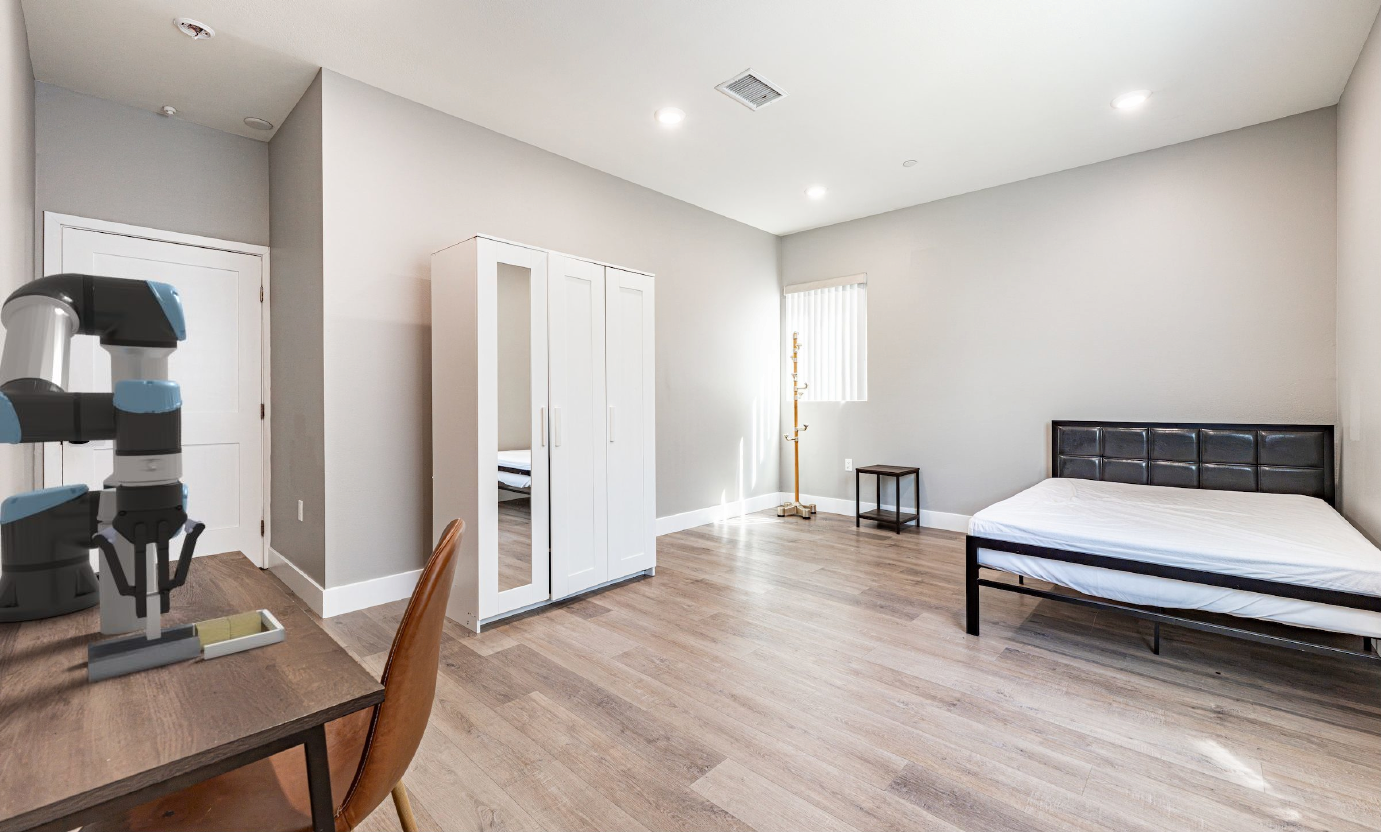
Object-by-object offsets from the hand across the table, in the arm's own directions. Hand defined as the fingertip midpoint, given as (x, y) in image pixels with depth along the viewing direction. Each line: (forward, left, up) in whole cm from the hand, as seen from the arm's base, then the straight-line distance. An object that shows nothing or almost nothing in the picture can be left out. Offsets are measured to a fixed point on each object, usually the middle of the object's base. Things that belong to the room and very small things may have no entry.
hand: (153, 636), depth 92 cm
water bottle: (-20, -1, -4) cm, 20 cm away
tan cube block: (+1, +7, -4) cm, 8 cm away
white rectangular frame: (0, +10, -4) cm, 11 cm away
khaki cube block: (0, +11, -4) cm, 12 cm away
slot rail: (0, -1, -4) cm, 4 cm away
